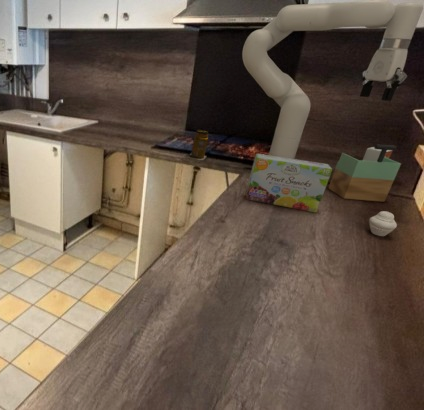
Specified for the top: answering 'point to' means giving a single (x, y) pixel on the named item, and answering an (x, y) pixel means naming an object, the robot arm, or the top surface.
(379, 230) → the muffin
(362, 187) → the stand
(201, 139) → the condiment
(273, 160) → the snack box
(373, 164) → the block
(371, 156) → the small box
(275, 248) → the top surface
